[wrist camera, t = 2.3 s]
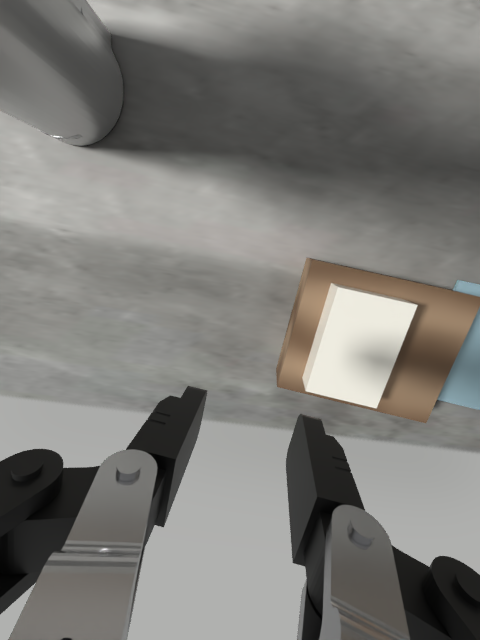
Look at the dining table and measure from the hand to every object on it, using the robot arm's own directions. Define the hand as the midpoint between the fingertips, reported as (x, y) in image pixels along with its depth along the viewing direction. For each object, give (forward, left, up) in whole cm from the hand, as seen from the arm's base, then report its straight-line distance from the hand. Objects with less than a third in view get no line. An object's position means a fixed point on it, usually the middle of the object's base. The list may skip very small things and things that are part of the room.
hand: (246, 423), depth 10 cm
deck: (0, +10, -19) cm, 22 cm away
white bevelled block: (0, +8, -15) cm, 17 cm away
